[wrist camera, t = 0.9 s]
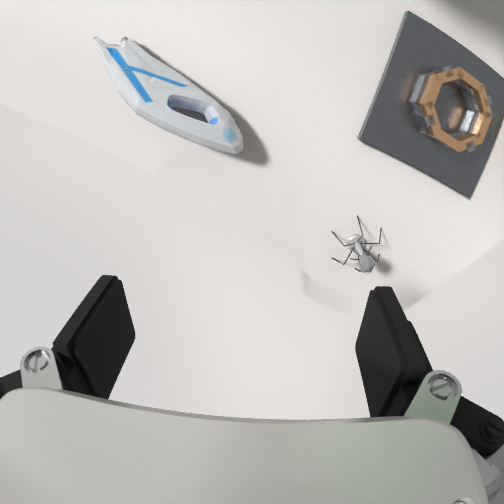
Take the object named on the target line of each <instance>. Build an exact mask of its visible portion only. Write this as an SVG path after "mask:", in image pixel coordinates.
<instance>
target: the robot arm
mask: <svg viewBox="0 0 504 504" xmlns="http://www.w3.org/2000/svg"><path fill="white" fill-rule="evenodd" d="M134 340H135V330H134V326H133V323H132V319H131V316H130V312H129V308H128V304H127V300H126V296H125V292H124V288H123V284H122V281H121V280H118V278H117V276H111V275H103V276H101V277H100V279H99V280H98V281H97V282H96V284H95V285H94V286H93V288H92V289H91V290H90V291H89V293H88V294H87V295H86V297H85V298H84V300H83V301H82V302H81V304H80V305H79V306H78V308H77V309H76V311H75V312H74V313H73V315H72V316H71V318H70V319H69V320H68V322H67V323H66V324H65V326H64V327H63V329H62V330H61V332H60V333H59V335H58V336H57V337H56V339H55V341H54V342H53V345H54V346H53V347H52V349H51V350H50V349H49V348H46V347H37V348H34V349H31V350H30V351H28V352H27V353H26V354H25V355H24V356H23V358H22V360H21V363H20V370H18V371H15V372H13V373H11V374H8V375H6V376H4V377H1V378H0V504H504V421H503V420H502V419H501V418H500V417H498V416H497V415H495V414H493V413H491V412H489V411H487V410H486V409H484V408H482V407H480V406H478V405H476V404H475V403H473V402H471V401H469V400H468V399H466V398H464V397H462V396H461V393H462V388H461V384H460V382H459V380H458V379H457V378H456V377H455V376H454V375H452V374H451V373H449V372H446V371H443V370H436V371H433V369H432V367H431V365H430V362H429V360H428V358H427V356H426V353H425V351H424V349H423V347H422V344H421V342H420V340H419V338H418V335H417V333H416V331H415V329H414V327H413V325H412V323H411V322H410V321H408V320H407V318H406V316H405V314H404V312H403V310H402V308H401V306H400V303H399V301H398V299H397V297H396V295H395V293H394V291H393V289H392V288H391V287H388V286H377V287H375V289H374V290H371V291H370V293H369V297H368V301H367V305H366V308H365V312H364V316H363V320H362V323H361V327H360V330H359V334H358V338H357V341H356V346H355V349H356V355H357V359H358V363H359V367H360V372H361V376H362V380H363V385H364V389H365V394H366V398H367V403H368V407H369V412H370V418H352V419H322V420H278V419H276V420H275V419H252V418H236V417H222V416H211V415H202V414H193V413H184V412H177V411H170V410H163V409H157V408H150V407H144V406H139V405H133V404H128V403H123V402H118V401H113V400H108V398H109V396H110V393H111V391H112V389H113V386H114V384H115V382H116V380H117V377H118V375H119V373H120V371H121V368H122V366H123V364H124V362H125V360H126V357H127V355H128V353H129V351H130V349H131V347H132V344H133V342H134Z"/></svg>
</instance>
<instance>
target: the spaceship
mask: <svg viewBox="0 0 504 504" xmlns="http://www.w3.org/2000/svg"><path fill="white" fill-rule="evenodd" d="M94 42H95V44H96V47H97V49H98V51H99V53H100V55H101V58H102V60H103V62H104V64H105V66H106V68H107V70H108V73H109V75H110V77H111V79H112V81H113V83H114V85H115V87H116V89H117V91H118V93H119V94H120V95H121V96H122V98H123V99H124V100H125V101H126V102H127V103H128V104H129V105H130V107H131V108H132V109H133V110H134V111H135V113H136V114H137V115H139V116H140V117H142V118H144V119H146V120H148V121H150V122H151V123H153V124H155V125H157V126H159V127H160V128H162V129H164V130H166V131H168V132H171V133H173V134H175V135H177V136H180V137H182V138H184V139H187V140H190V141H192V142H195V143H197V144H200V145H203V146H206V147H209V148H213V149H216V150H219V151H222V152H226V153H229V154H238V153H240V152H241V151H243V135H242V133H241V132H240V130H239V128H238V126H237V125H236V123H235V121H234V119H233V117H232V116H231V114H230V112H228V111H227V110H226V109H225V108H224V107H222V106H221V105H220V104H219V103H218V102H217V101H216V100H215V99H213V98H212V97H211V96H209V95H208V94H206V93H205V92H204V91H202V90H201V89H200V88H198V87H197V86H196V85H194V84H193V83H192V82H190V81H189V80H188V79H186V78H185V77H184V76H182V75H181V74H180V73H178V72H177V71H175V70H173V69H172V68H170V67H169V66H167V65H165V64H164V63H162V62H160V61H159V60H157V59H155V58H154V57H152V56H151V55H149V54H148V53H147V52H146V51H145V50H143V49H142V48H141V47H140V46H138V45H137V44H136V43H135V42H134V41H132V40H131V39H128V38H127V37H124V38H122V39H121V42H122V47H121V46H116V45H112V44H108V43H106V42H104V41H103V40H101V39H99V38H98V37H95V38H94ZM172 107H178V108H184V109H188V110H192V111H197V112H199V113H202V114H204V115H205V117H206V119H207V121H208V123H206V122H203V121H199V120H196V119H193V118H191V117H188V116H185V115H183V114H181V113H179V112H177V111H176V110H174V109H173V108H172Z"/></svg>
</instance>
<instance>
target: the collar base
mask: <svg viewBox="0 0 504 504" xmlns="http://www.w3.org/2000/svg"><path fill="white" fill-rule="evenodd" d="M503 116H504V78H503V77H501V76H500V75H499V74H498V73H497V72H496V71H494V70H493V69H492V68H491V67H490V66H489V65H487V64H486V63H485V62H484V61H482V60H481V59H480V58H479V57H477V56H476V55H475V54H473V53H472V52H471V51H469V50H468V49H467V48H465V47H464V46H463V45H461V44H460V43H458V42H457V41H456V40H454V39H453V38H451V37H450V36H448V35H447V34H445V33H444V32H442V31H441V30H439V29H438V28H436V27H435V26H433V25H432V24H430V23H428V22H427V21H425V20H423V19H422V18H420V17H418V16H417V15H415V14H413V13H411V12H410V11H407V12H405V14H404V17H403V20H402V23H401V26H400V28H399V31H398V34H397V37H396V40H395V43H394V45H393V48H392V51H391V54H390V56H389V59H388V62H387V64H386V67H385V70H384V72H383V75H382V78H381V80H380V83H379V86H378V88H377V91H376V93H375V96H374V98H373V101H372V104H371V106H370V109H369V111H368V114H367V116H366V119H365V121H364V123H363V126H362V128H361V131H360V133H359V136H358V139H359V140H362V141H364V142H366V143H368V144H370V145H372V146H375V147H377V148H379V149H381V150H383V151H385V152H387V153H389V154H391V155H393V156H395V157H397V158H399V159H401V160H403V161H405V162H407V163H409V164H411V165H413V166H415V167H417V168H418V169H420V170H422V171H424V172H426V173H428V174H429V175H431V176H433V177H435V178H437V179H438V180H440V181H442V182H444V183H445V184H447V185H449V186H450V187H452V188H454V189H456V190H457V191H459V192H461V193H462V194H464V195H465V196H467V197H469V198H470V196H471V194H472V192H473V190H474V188H475V185H476V183H477V181H478V179H479V177H480V174H481V172H482V170H483V168H484V165H485V163H486V161H487V158H488V156H489V153H490V151H491V148H492V146H493V143H494V141H495V138H496V136H497V133H498V130H499V127H500V125H501V122H502V119H503Z"/></svg>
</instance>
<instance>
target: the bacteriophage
mask: <svg viewBox="0 0 504 504" xmlns="http://www.w3.org/2000/svg"><path fill="white" fill-rule="evenodd" d="M357 218H358V216H357ZM358 221H359V218H358ZM359 225H360V222H359ZM360 228H361V225H360ZM381 229H382V228H381ZM331 232H332V231H331ZM361 232H362V229H361ZM332 233H333V232H332ZM333 234H334V233H333ZM334 235H335V234H334ZM335 236H336V235H335ZM336 237H337V236H336ZM380 238H381V230H380ZM337 239H338V240H339V238H338V237H337ZM339 241H340V240H339ZM340 242H341V241H340ZM365 242H366V241H365V238H364V237H363V233H362V236H361V235H358V234H356V235H354V236H353V237H351V238H350V239H348V241H347V243H348V245H344V244H343V243H342V242H341V243H342V244H343V245H344V246H348V249H349V250H351V252H350V254H351V253H352V251H354V252H355V253H357V254H358V259H353V260H359V262H358V264H357V265H358V267H359V268H360V271H359V270H358V269H356V268H355V269H356V270H357V271H359V272H372V270H373V268H374V266H375V262H374V260H373V259H375V258H373V257H372V256H371V255H370V254H369V252H367V251H365V250H364V247H365V244H380V240H379V243H365ZM371 247H372V246H371ZM371 247H370V249H371ZM364 251H365V252H367V253H368V254H369V255H368V254H367V255H366V254H365V252H364ZM369 251H370V250H369ZM350 254H349V256H350ZM349 256H348V258H349ZM359 257H360V259H359ZM348 258H347V259H348ZM332 259H334V258H332ZM347 259H346V261H347ZM350 259H352V258H350ZM334 260H336V259H334ZM375 260H376V259H375ZM378 260H379V255H378ZM336 261H337V260H336ZM346 261H345V263H346ZM376 261H377V260H376ZM337 262H339V261H337ZM377 262H378V261H377ZM339 263H341V262H339ZM345 263H344V264H345ZM341 264H343V263H341ZM344 264H343V265H344Z"/></svg>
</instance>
